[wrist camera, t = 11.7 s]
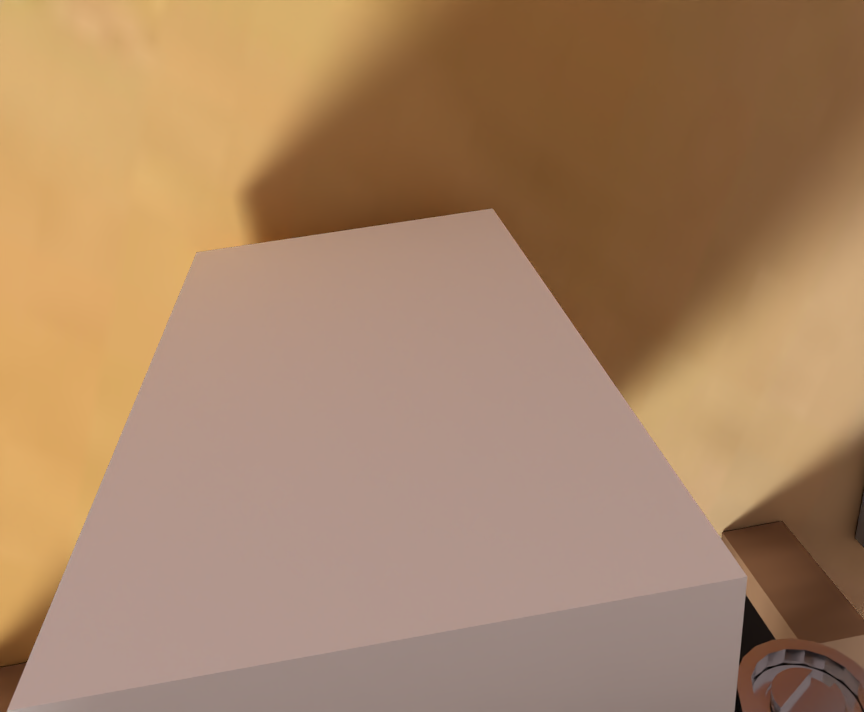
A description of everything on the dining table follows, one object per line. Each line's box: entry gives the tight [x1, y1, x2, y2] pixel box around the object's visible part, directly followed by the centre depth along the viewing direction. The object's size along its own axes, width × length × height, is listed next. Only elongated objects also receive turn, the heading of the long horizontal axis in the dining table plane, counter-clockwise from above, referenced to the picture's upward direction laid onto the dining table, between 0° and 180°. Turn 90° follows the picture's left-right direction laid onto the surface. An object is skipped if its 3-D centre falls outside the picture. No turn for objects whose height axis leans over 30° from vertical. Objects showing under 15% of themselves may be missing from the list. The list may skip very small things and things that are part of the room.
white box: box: [7, 208, 747, 712], centre depth 11 cm, size 5×7×9 cm
